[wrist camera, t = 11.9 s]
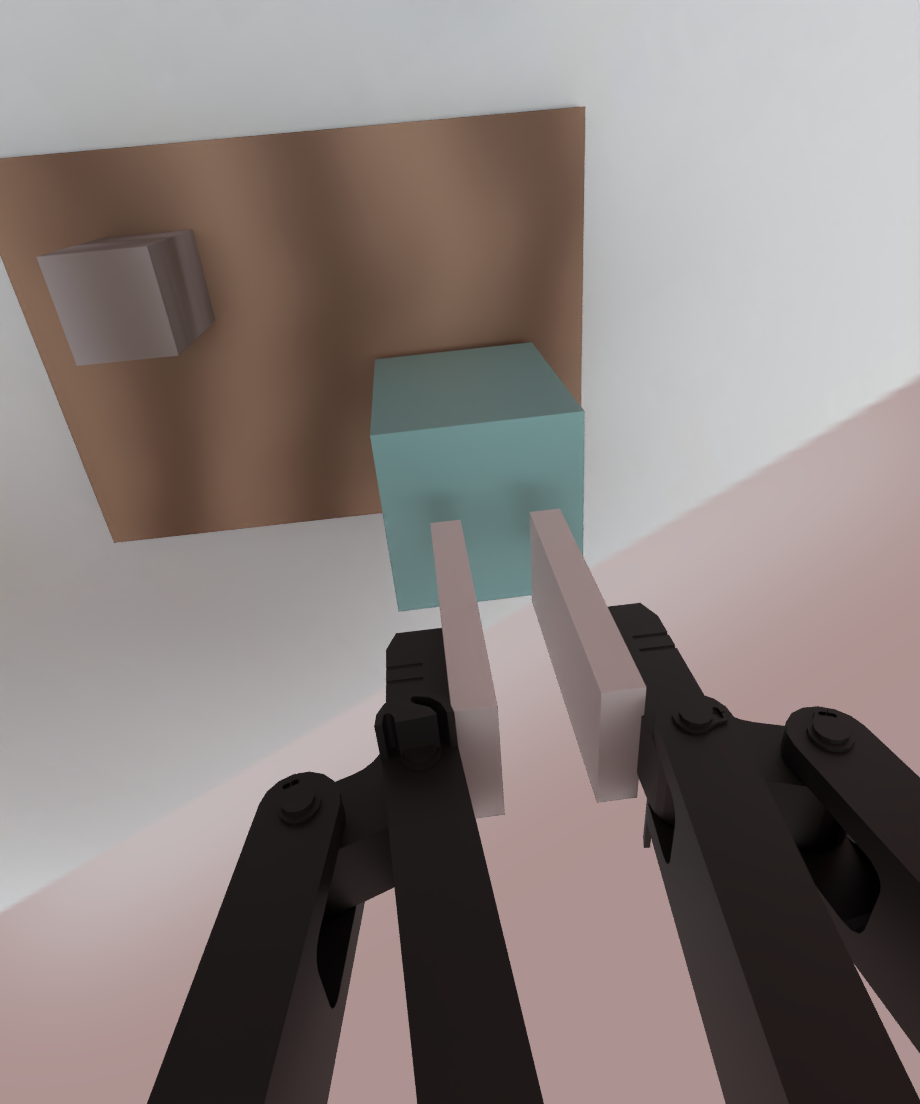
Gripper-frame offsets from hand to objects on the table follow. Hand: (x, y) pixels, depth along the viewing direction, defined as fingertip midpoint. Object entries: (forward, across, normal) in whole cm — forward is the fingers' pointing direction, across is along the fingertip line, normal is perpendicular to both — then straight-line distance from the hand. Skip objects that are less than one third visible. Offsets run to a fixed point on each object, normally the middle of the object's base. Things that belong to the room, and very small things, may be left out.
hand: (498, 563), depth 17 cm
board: (+12, -5, +3) cm, 14 cm away
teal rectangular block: (+10, 0, 0) cm, 10 cm away
